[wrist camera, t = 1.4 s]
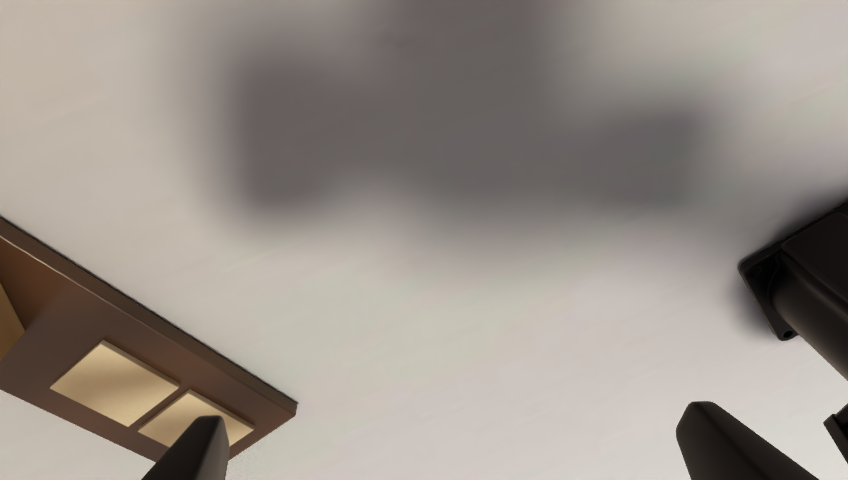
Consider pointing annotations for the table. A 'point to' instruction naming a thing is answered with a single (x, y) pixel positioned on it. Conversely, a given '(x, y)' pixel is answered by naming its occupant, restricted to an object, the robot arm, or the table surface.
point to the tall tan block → (8, 324)
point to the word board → (118, 360)
